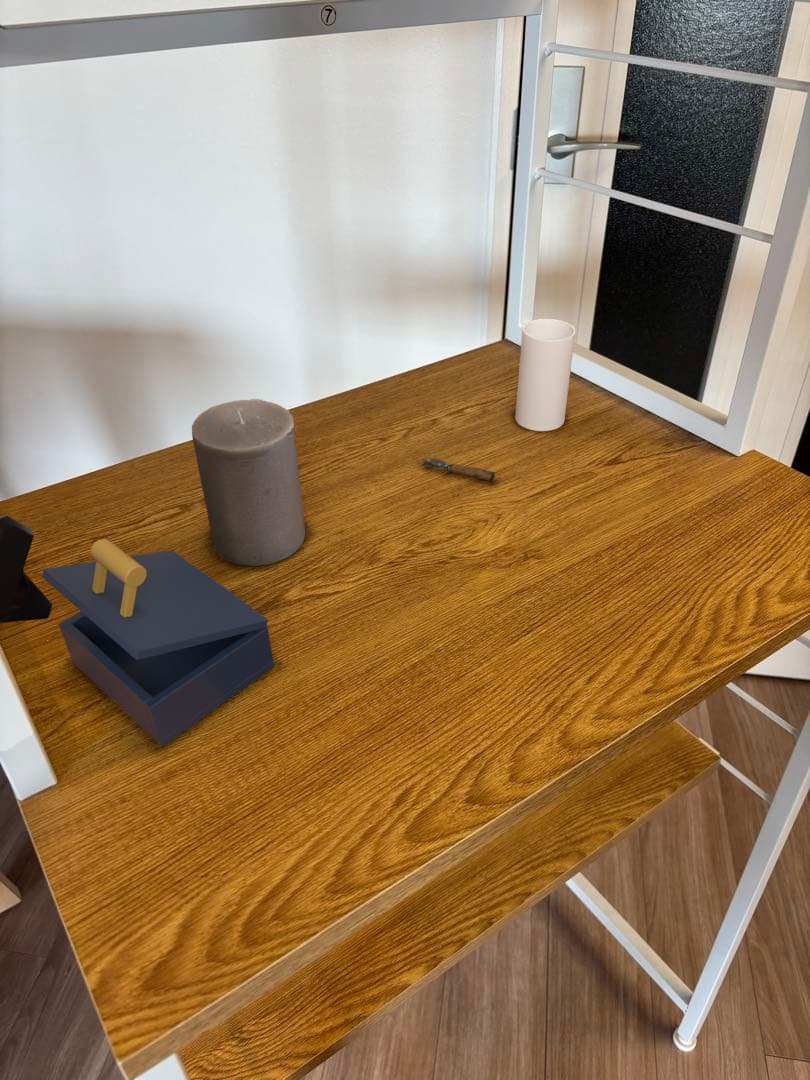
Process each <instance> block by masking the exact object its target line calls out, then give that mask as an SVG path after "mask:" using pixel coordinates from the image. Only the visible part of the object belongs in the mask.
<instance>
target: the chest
mask: <svg viewBox="0 0 810 1080" xmlns="http://www.w3.org/2000/svg"><path fill="white" fill-rule="evenodd" d="M58 627H59V629H60V632H61V635H62V638H63V640H64V643H65V645H66V648H67V651H68V653H69V656H70V658H71V661H72V663H73V664H74V665H75V666H76V668H78V669H79V670H80V671H81V672H82V673H83V674H84V675H85V676H86V677H87V678H89V680H91V681H92V682H93V683H94V684H95V685H96V686H97V687H98V688H99V689H100V690H101V691H102V692H103V693H104V694H105V695H106V696H107V697H108V698H110V699H111V701H113V702H114V703H115V704H116V705H117V706H118V707H119V708H120V709H121V710H122V711H123V712H124V713H125V714H126V715H128V716H129V717H130V718H131V719H132V720H133V721H134V722H135V723H136V724H137V725H138V726H139V727H140V728H141V729H143V731H144V732H145V733H147V734H148V735H149V736H150V737H151V739H153V740H154V741H155V743H157V744H158V746H160V747H162V748H164V747H165V746H167V745H168V744H169V743H171V742H172V741H174V740H175V739H176V738H178V737H179V736H180V735H182V734H183V733H185V732H186V731H188V730H189V729H190V728H191V727H193V726H194V725H196V724H197V723H199V722H200V721H201V720H202V719H204V718H205V717H207V716H208V715H210V714H211V713H212V712H214V711H215V710H216V709H218V708H220V706H222V705H223V704H225V703H226V702H228V701H229V700H230V699H232V698H233V697H234V696H236V695H237V694H238V693H240V692H241V691H243V690H244V689H246V688H247V687H249V685H251V684H252V683H254V682H256V681H257V680H258V679H259V678H261V677H262V676H264V675H265V674H266V673H268V672H269V671H271V670H272V669H273V668H274V667H275V663H274V656H273V651H272V644H271V640H270V639H271V638H270V633H269V628H268V627H266V628H263V629H259V630H255V631H251V632H247V633H243V634H239V635H235V636H231V637H227V638H223V639H220V640H216V641H212V642H208V643H204V644H200V645H196V646H192V647H188V648H184V649H180V650H176V651H172V652H168V653H164V654H160V655H156V656H152V657H148V658H144V659H140V660H136V659H135V658H134V657H132V656H131V655H130V654H129V653H128V652H127V651H126V650H124V649H123V648H122V647H121V646H120V645H119V644H118V643H116V642H115V641H114V640H113V639H112V638H111V637H110V636H109V635H107V634H106V633H105V632H104V631H103V630H102V629H101V628H99V627H98V626H97V625H96V624H95V623H94V622H93V621H91V620H90V619H89V618H88V617H87V616H86V615H85V614H83V613H82V612H81V611H80V610H79V612H77V613H75V614H73V615H71V616H70V617H68V618H66V619H64V620H63V621H61V622H59V623H58Z"/></svg>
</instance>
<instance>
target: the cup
mask: <svg viewBox="0 0 810 1080" xmlns="http://www.w3.org/2000/svg"><path fill="white" fill-rule="evenodd" d="M575 337H576V329H575V327H574V326H573V325H572V324H570V323H569V322H566V321H563V320H560V319H553V318H539V319H534V320H530V321H528V322H526V323H525V324H524V325H523V326H522V330H521V343H520V355H519V367H518V376H517V377H518V378H517V390H516V391H517V392H516V404H515V416H514V418H515V421H516V423H517V424H518V425H519V426H521V427H522V428H524V429H527V430H530V431H535V432H549V431H550V432H551V431H554V430H557V429H559V428H560V427H562V426H563V425H564V423H565V419H566V411H567V401H568V396H569V395H568V394H569V388H570V387H569V386H570V378H571V370H572V363H573V354H574V347H575V346H574V345H575Z"/></svg>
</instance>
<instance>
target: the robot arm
mask: <svg viewBox="0 0 810 1080" xmlns="http://www.w3.org/2000/svg"><path fill="white" fill-rule="evenodd" d="M34 538H35V536H34V533H33V531H32V530H31V527H29V526H27V525H26V524H24V523H21V522H19V521H18V520H16V519H14V518H13V517H11V516H9V515H0V624H7V623H8V624H9V623H17V622H27V621H38V620H48V619H49V618H50V615H51V612H52V609H53V603H52V602H51V601H50V600H49V599H48V598H47V596H46V595H45V594H44V593H43V592H42V590H40V588H39V587H38V586H37V585H36V584H35V583H34V582H33V580H32V579H31V578H30V577H29V575H28V574H27V573H26V571H25V570H24V568H25V565H26V562H27V559H28V557H29V556H28V555H29V552H30V550H31V546H32V543H33V540H34Z"/></svg>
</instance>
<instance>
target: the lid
mask: <svg viewBox="0 0 810 1080" xmlns="http://www.w3.org/2000/svg"><path fill="white" fill-rule="evenodd" d="M89 553H90V556H91V558H92V559H93V560H94V561H90V562H83V563H75V564H68V565H61V566H55V567H48V568H43V569H42V576H41V577H42V579H43V580H45V582H47V583H48V584H49V585H50V586H51V587H52V588H54V589H55V590H56V591H57V592H58V593H59V594H61V596H63V597H64V598H65V599H66V600H67V601H68V602H70V603H71V604H72V605H73V606H74V607H75V608H77V609H78V611H79V612H80V611H81V612H82V613H83V614H85V615H86V616H87V617H88V618H89V619H90V620H91V621H93V622H94V623H95V624H96V625H97V626H98V627H99V628H101V629H102V630H103V631H104V632H105V633H106V634H107V635H109V636H110V637H111V638H112V639H113V640H114V641H115V642H116V643H118V644H119V645H120V646H121V647H122V648H123V649H124V650H126V651H127V652H128V653H129V654H130V655H131V656H132V657H134V658H135V659H136V660H140V659H144V658H148V657H152V656H156V655H160V654H164V653H168V652H172V651H176V650H180V649H184V648H188V647H192V646H196V645H200V644H204V643H208V642H212V641H216V640H220V639H223V638H227V637H231V636H235V635H239V634H243V633H247V632H251V631H255V630H259V629H263V628H266V627H267V626H268V623H269V619H268V618H267V617H266V616H264V615H263V614H261V613H260V612H259V611H257V610H256V609H254V608H253V607H251V606H250V605H249V604H247V602H245V601H243V600H242V599H241V598H239V597H238V596H236V595H235V594H234V593H233V592H231V591H229V590H228V589H227V588H225V587H224V586H223V585H221V584H220V583H218V582H217V581H216V580H214V579H213V578H211V577H210V576H209V575H208V574H206V573H204V572H203V571H202V570H200V569H199V568H198V567H196V566H195V565H193V564H192V563H190V562H189V561H188V560H186V558H183V556H181V555H179V554H178V553H177V552H175V551H174V550H168V551H162V552H161V551H160V552H154V553H146V554H139V555H131V556H130V555H129V554H127V553H126V552H125V551H123V550H122V549H121V548H120V547H118V546H117V545H116V544H114V543H113V542H111V541H110V540H109V539H106V538H101V539H98V540H96V541H95V542H94V543H93V544H92V546H91V547H90V552H89ZM267 628H268V627H267Z"/></svg>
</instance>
